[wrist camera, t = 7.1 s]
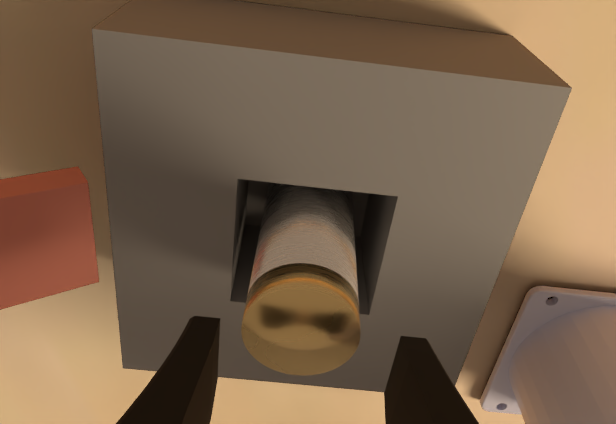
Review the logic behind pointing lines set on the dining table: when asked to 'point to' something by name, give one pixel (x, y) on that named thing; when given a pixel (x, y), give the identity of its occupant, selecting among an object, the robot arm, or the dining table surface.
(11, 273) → the bar
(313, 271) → the pin
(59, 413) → the dining table surface
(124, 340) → the pin block
